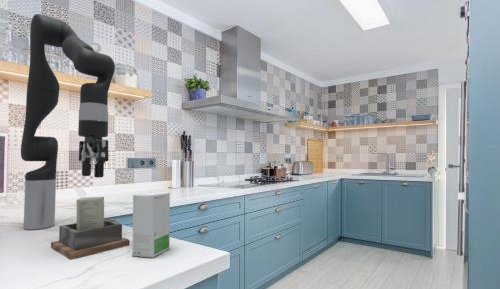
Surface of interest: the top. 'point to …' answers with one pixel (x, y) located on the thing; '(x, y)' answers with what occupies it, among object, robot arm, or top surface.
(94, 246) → the sleeve holder
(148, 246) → the skincare box
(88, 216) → the skincare box
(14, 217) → the top surface
